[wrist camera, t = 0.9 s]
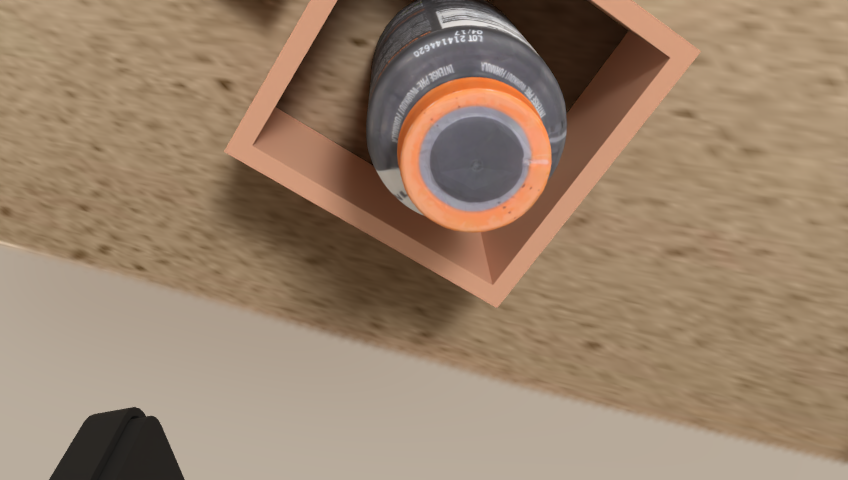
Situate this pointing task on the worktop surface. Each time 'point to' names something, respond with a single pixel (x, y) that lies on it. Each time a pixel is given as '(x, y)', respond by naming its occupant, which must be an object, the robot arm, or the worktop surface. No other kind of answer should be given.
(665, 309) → the worktop surface
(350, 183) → the frame
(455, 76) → the pill bottle
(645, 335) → the worktop surface
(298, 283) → the worktop surface
